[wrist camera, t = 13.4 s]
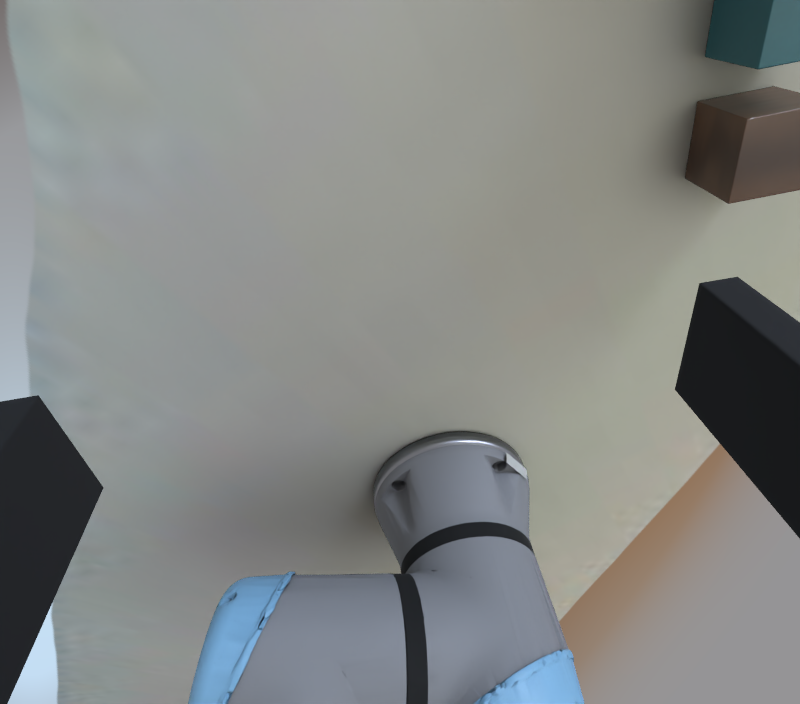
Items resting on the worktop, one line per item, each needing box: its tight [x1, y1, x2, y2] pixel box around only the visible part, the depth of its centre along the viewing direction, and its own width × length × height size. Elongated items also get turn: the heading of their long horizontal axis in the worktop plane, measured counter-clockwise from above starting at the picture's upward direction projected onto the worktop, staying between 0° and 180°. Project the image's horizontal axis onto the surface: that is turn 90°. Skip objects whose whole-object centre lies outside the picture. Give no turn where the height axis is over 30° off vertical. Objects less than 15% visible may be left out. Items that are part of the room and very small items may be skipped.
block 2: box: [685, 86, 800, 204], centre depth 33 cm, size 5×5×5 cm
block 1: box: [705, 0, 800, 69], centre depth 29 cm, size 5×5×5 cm
